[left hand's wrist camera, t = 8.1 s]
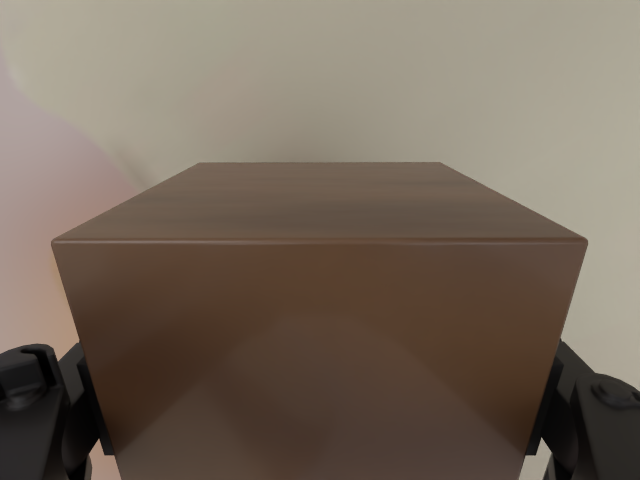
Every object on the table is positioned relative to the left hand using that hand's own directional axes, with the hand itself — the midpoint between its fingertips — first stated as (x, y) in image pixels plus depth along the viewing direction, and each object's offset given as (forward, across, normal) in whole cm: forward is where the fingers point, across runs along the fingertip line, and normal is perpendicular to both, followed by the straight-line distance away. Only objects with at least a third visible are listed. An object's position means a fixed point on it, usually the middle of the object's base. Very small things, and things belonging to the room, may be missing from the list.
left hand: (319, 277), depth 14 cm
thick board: (0, 0, -23) cm, 23 cm away
